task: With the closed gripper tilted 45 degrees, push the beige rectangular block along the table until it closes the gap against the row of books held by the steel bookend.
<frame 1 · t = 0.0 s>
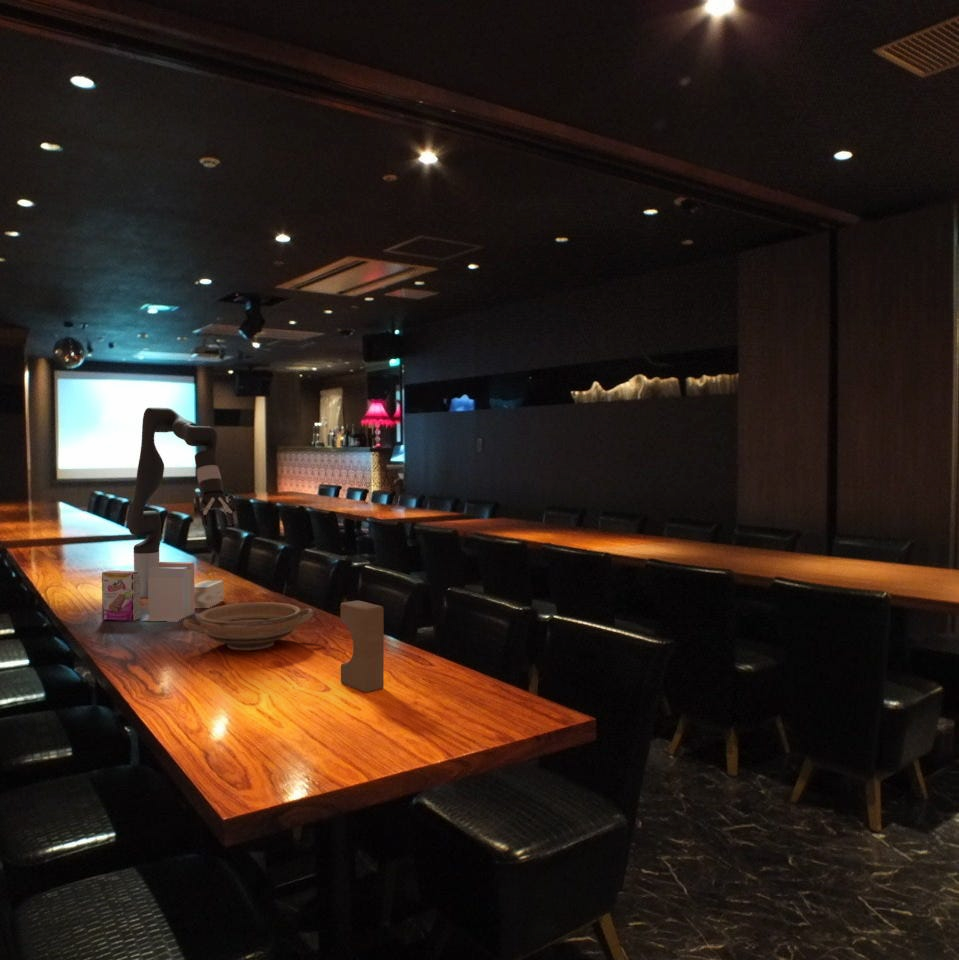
hand: (218, 525, 267), 31 cm above the table, tool tilted 20°, fingers open, 8 cm apart
beige rectangular block: (206, 605, 290), on the table
decorative block: (361, 686, 192), on the table
ceramic bowl: (250, 645, 231), on the table
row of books: (171, 616, 270), on the table
candy bar box: (121, 620, 264), on the table
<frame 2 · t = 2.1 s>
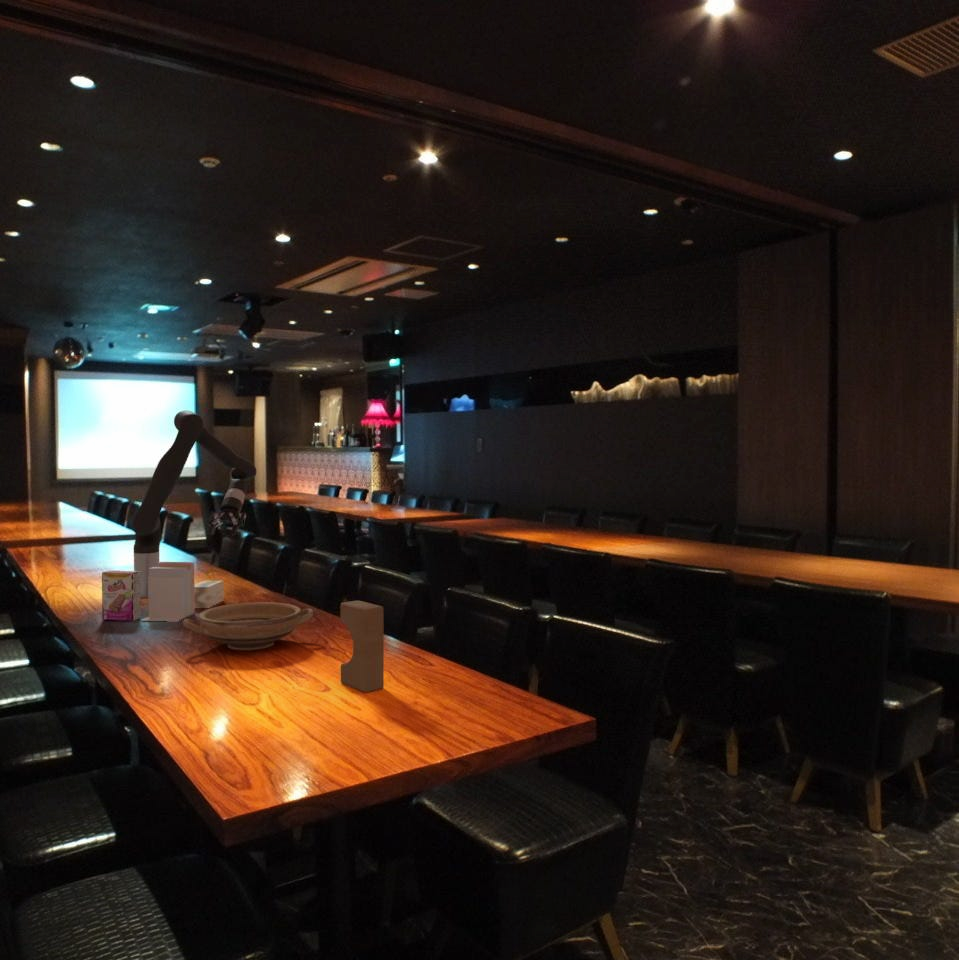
hand: (222, 533, 304), 25 cm above the table, tool tilted 45°, fingers open, 8 cm apart
nothing on the table moved.
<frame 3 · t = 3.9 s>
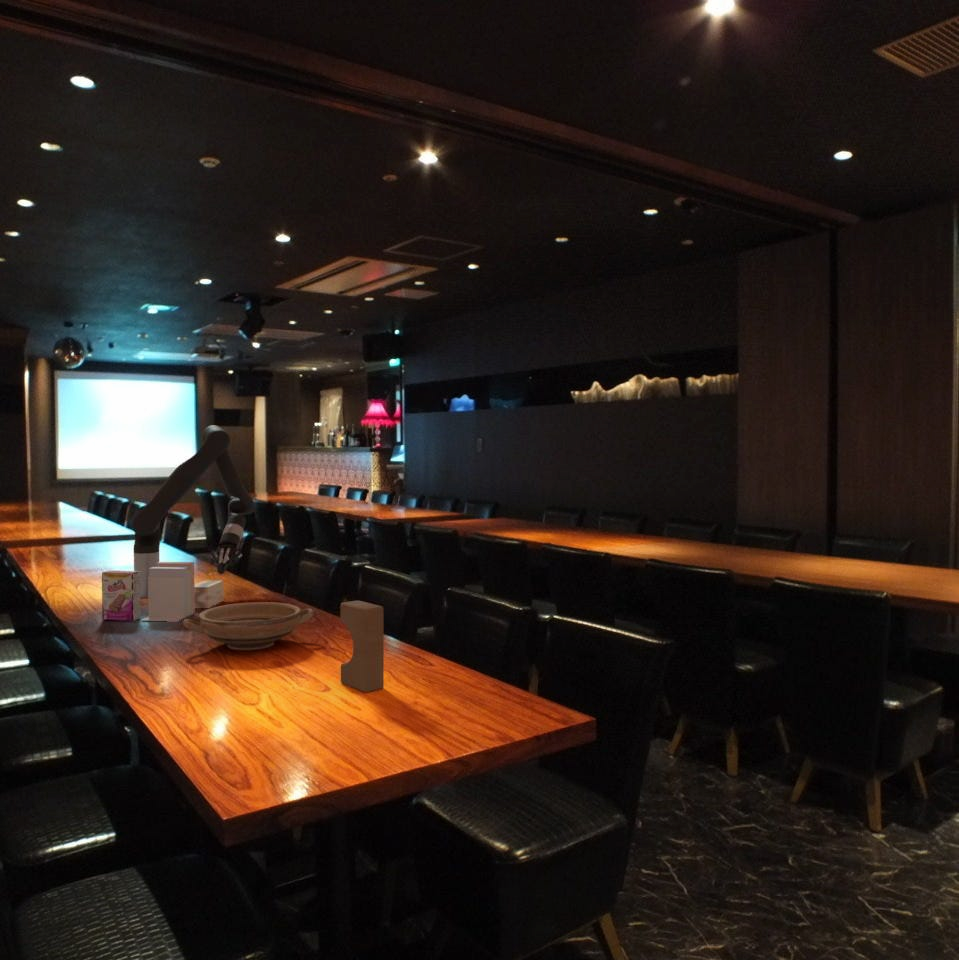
hand: (220, 572, 302), 10 cm above the table, tool tilted 45°, fingers closed
nothing on the table moved.
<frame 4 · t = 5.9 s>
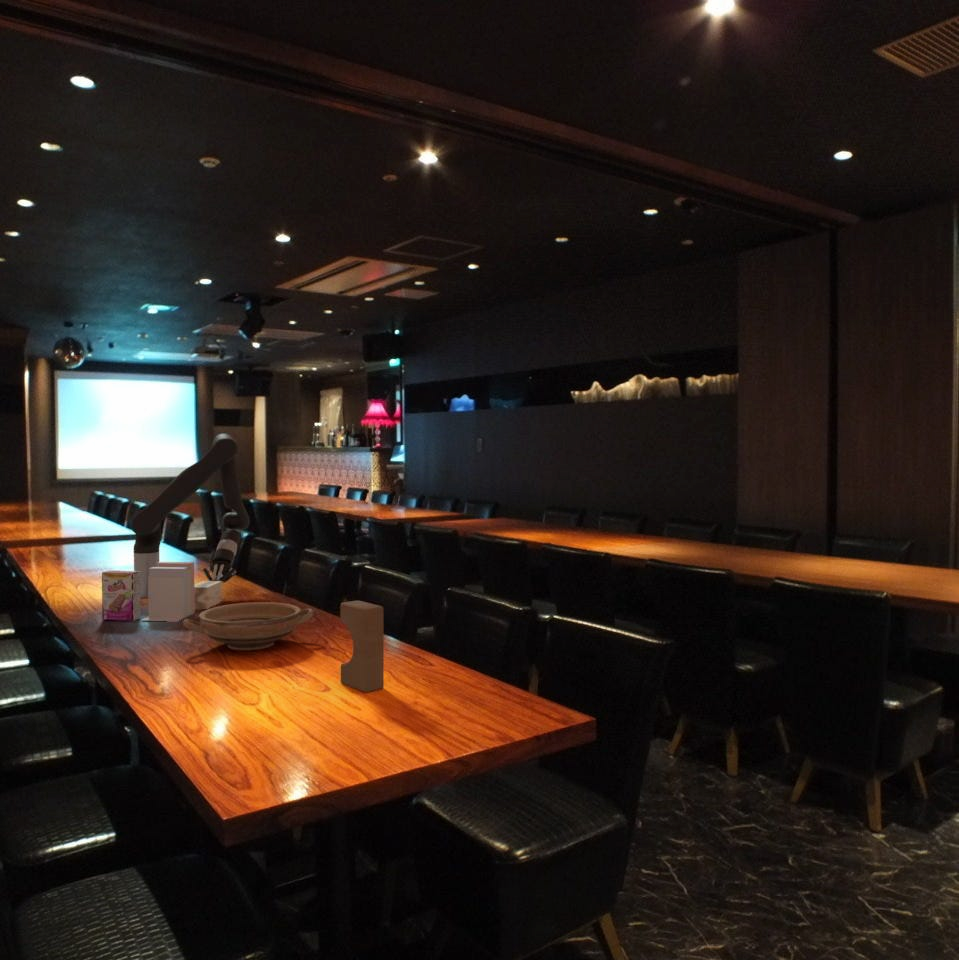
hand: (213, 590, 296), 4 cm above the table, tool tilted 45°, fingers closed
beige rectangular block: (205, 605, 289), on the table
everything else where it was.
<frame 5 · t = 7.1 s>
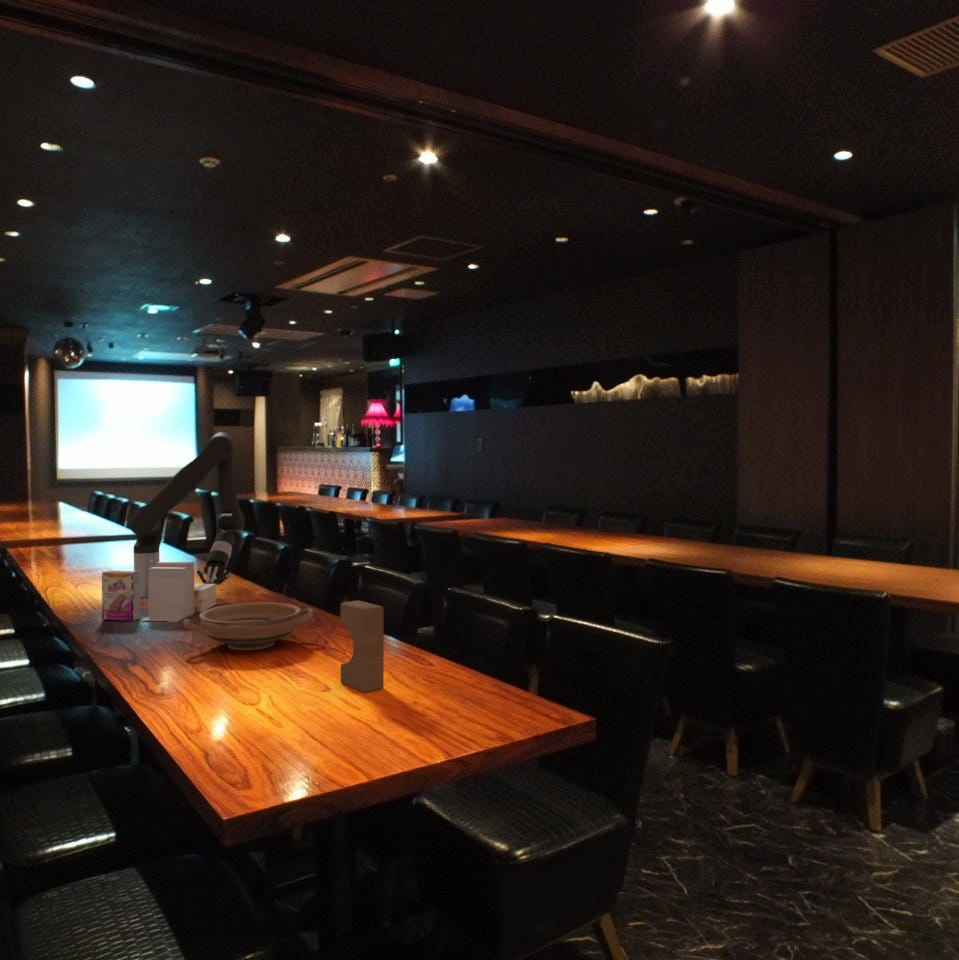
hand: (207, 593, 291), 4 cm above the table, tool tilted 45°, fingers closed
beige rectangular block: (199, 609, 283), on the table
everything else where it was.
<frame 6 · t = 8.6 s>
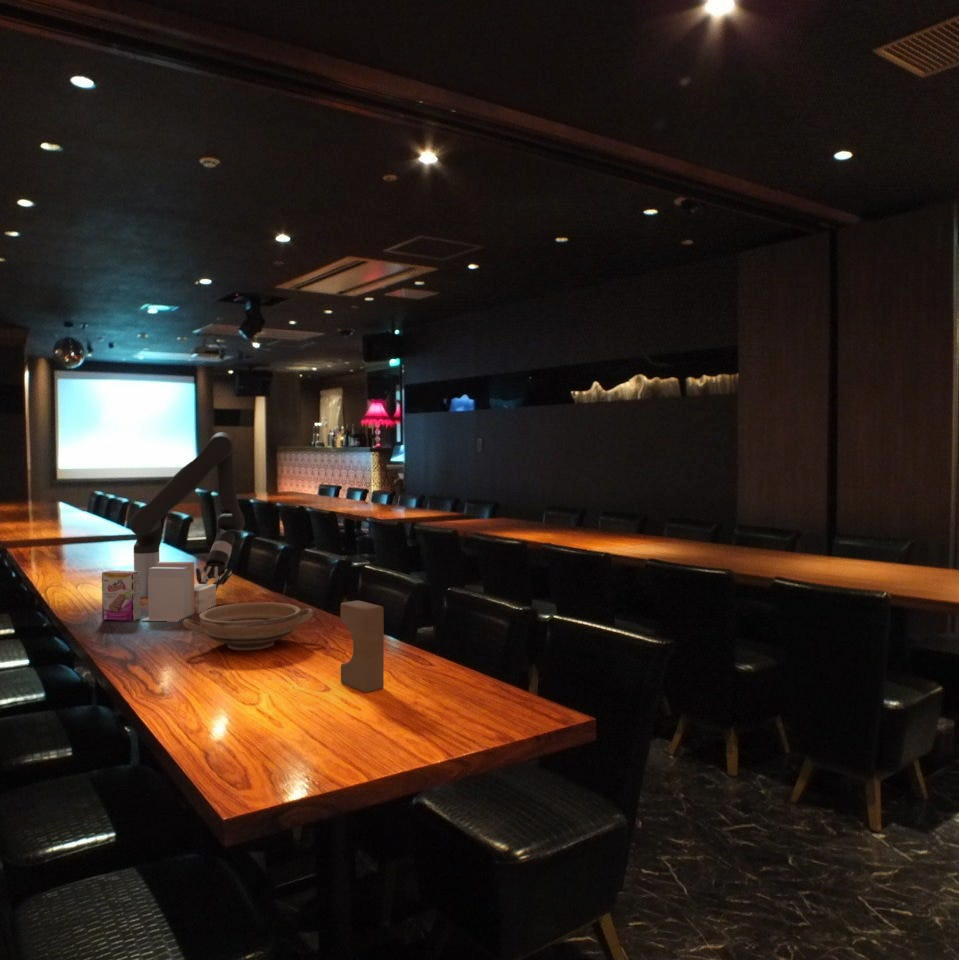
hand: (207, 592, 291), 5 cm above the table, tool tilted 45°, fingers open, 3 cm apart
nothing on the table moved.
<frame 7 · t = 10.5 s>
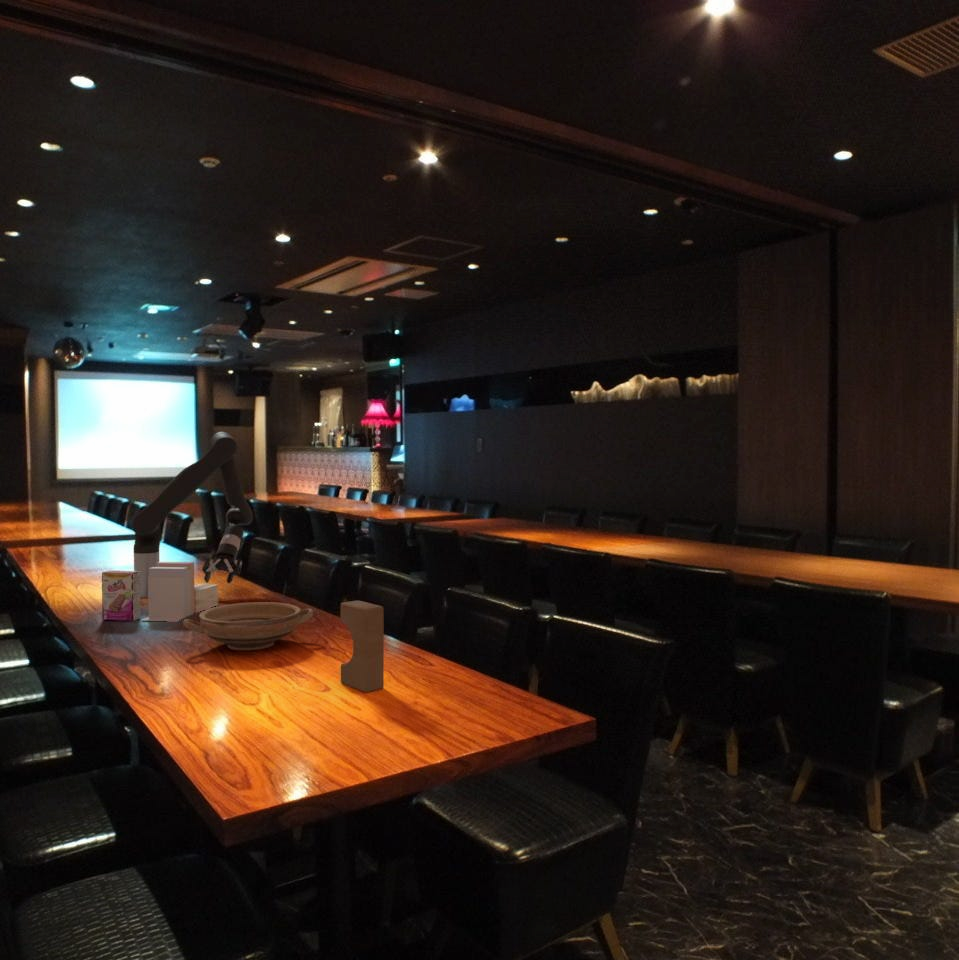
hand: (217, 581, 301), 7 cm above the table, tool tilted 45°, fingers open, 8 cm apart
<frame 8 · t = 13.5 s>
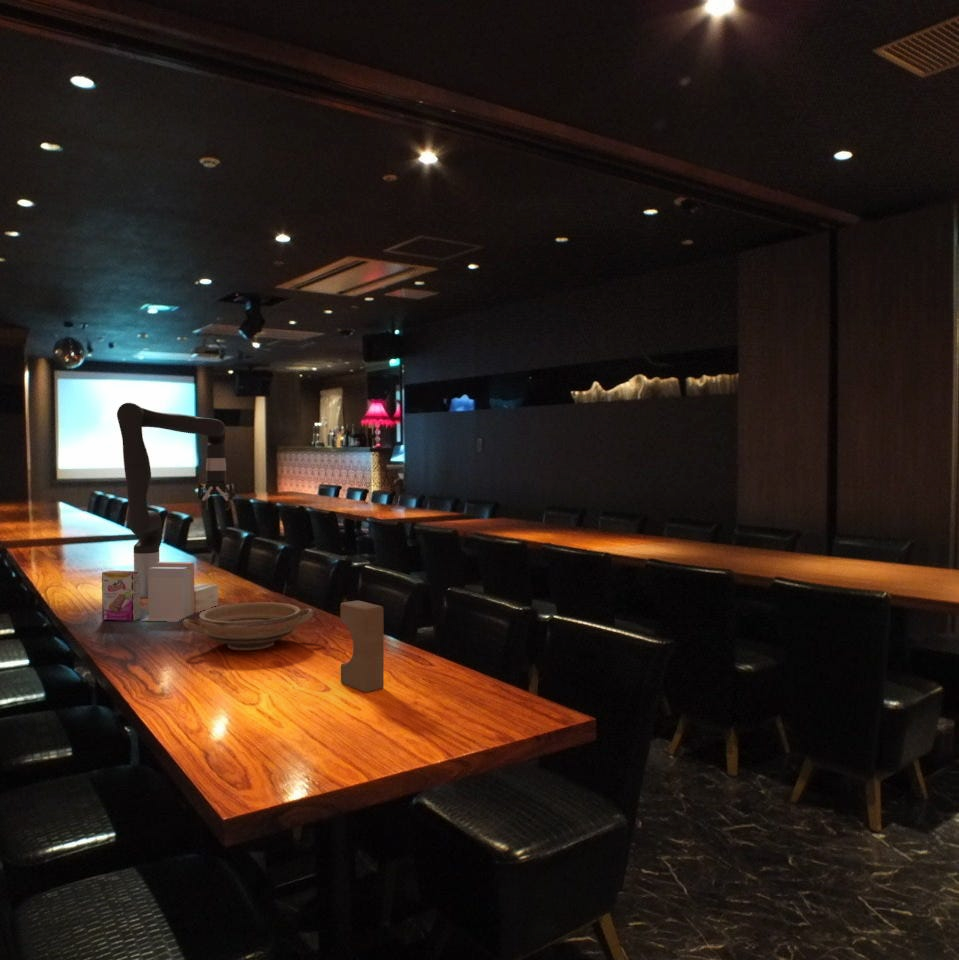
hand: (216, 510, 314), 33 cm above the table, tool pointing down, fingers open, 8 cm apart
nothing on the table moved.
at the end: beige rectangular block 0.3 cm from the target spot, on the table; beige rectangular block tilted 0°; beige rectangular block moved 7.6 cm from its start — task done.
